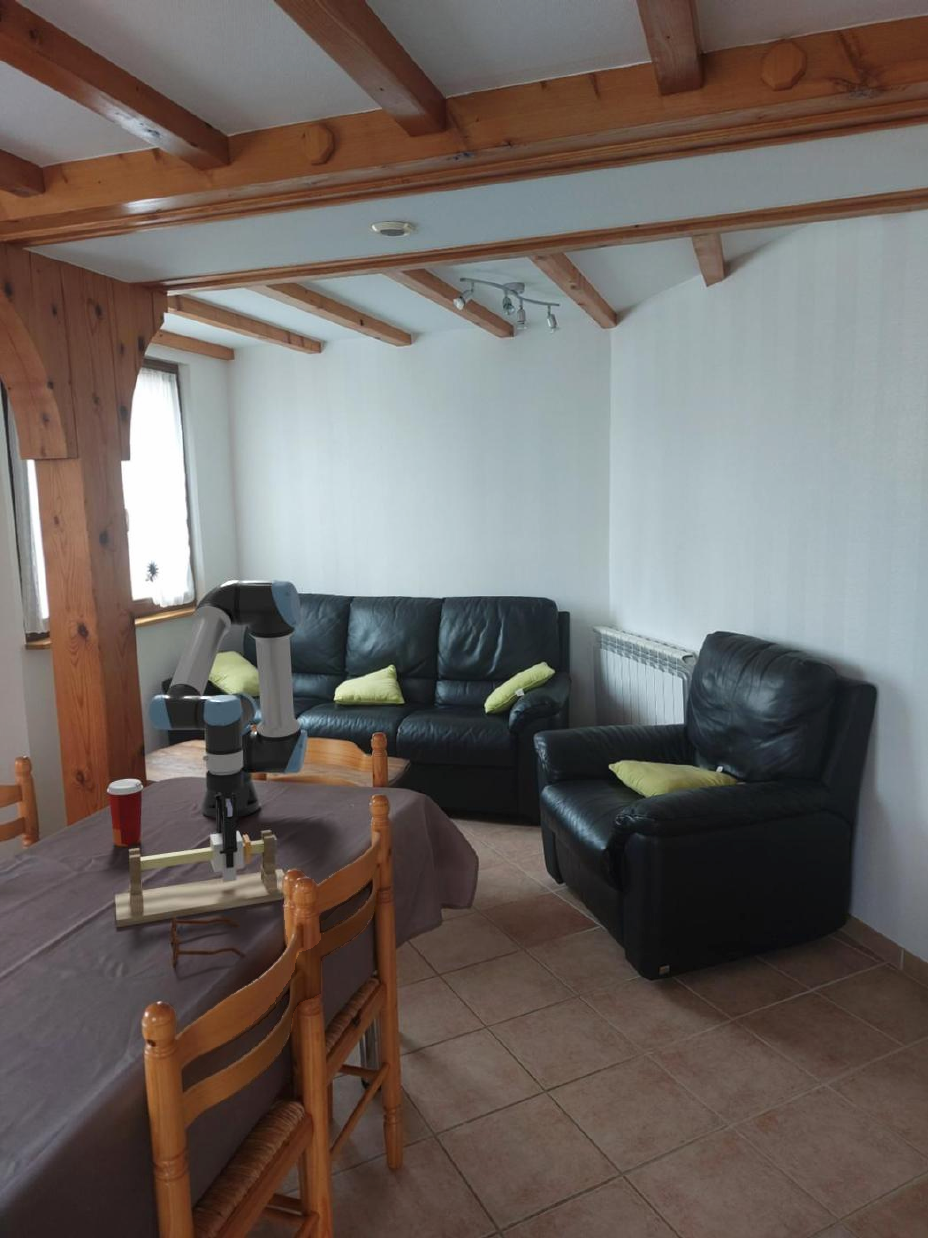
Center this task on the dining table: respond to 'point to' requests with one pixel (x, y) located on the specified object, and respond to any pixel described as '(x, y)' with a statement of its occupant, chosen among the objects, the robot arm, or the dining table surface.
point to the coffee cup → (126, 811)
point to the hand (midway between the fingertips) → (227, 874)
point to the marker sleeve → (217, 846)
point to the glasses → (174, 936)
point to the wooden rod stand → (198, 892)
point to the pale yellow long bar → (199, 855)
